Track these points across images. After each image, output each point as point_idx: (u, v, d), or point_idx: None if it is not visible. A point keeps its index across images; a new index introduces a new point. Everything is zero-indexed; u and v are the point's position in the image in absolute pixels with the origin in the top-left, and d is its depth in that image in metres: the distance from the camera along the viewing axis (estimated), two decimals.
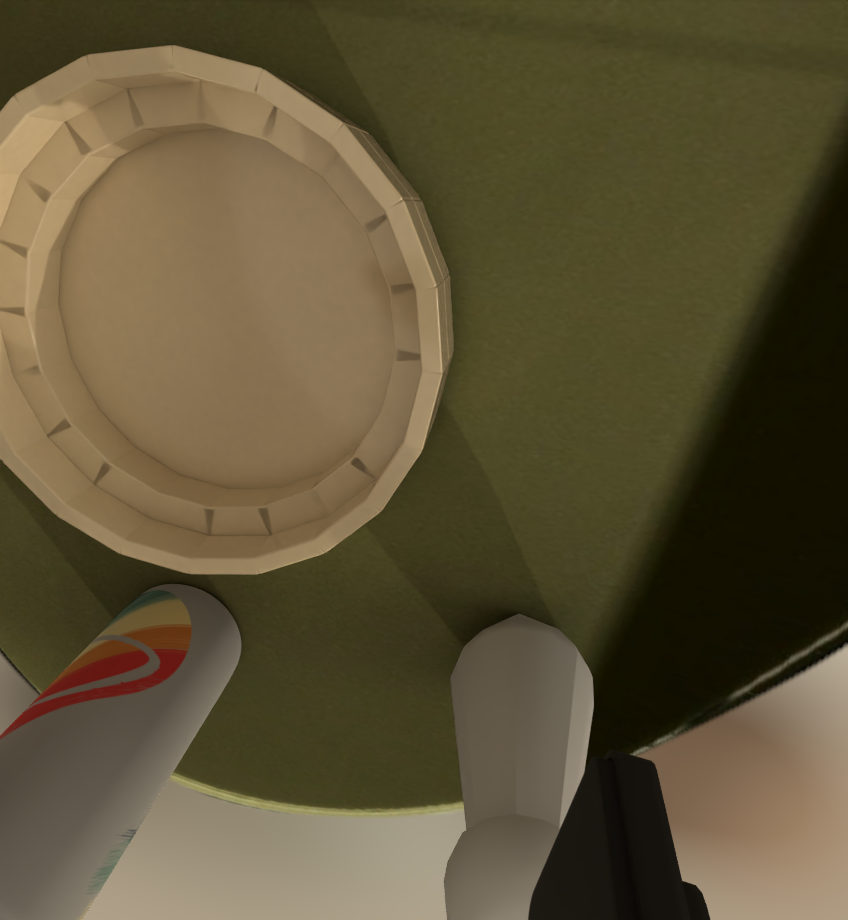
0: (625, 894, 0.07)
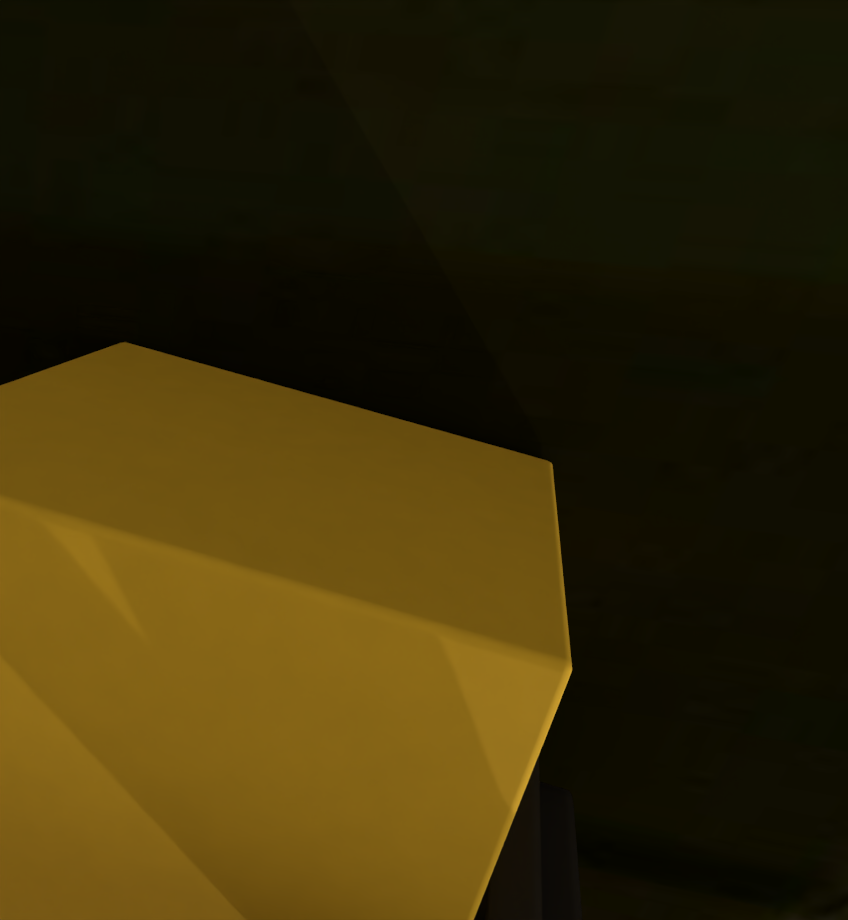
0: None
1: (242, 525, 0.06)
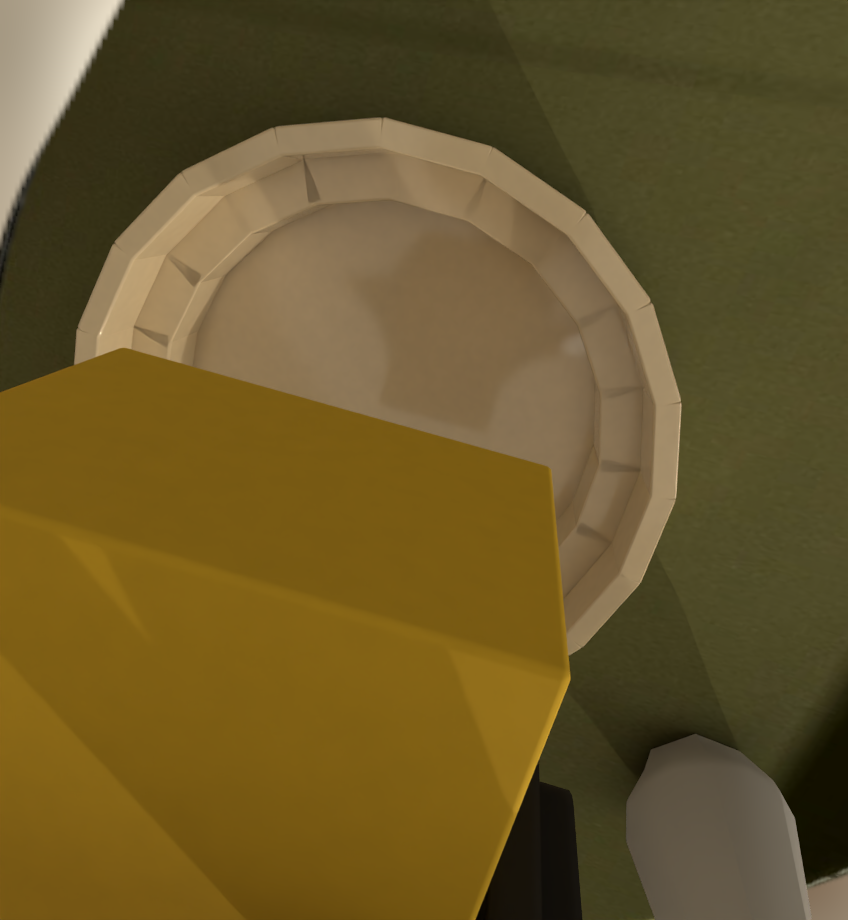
0: None
1: (241, 534, 0.06)
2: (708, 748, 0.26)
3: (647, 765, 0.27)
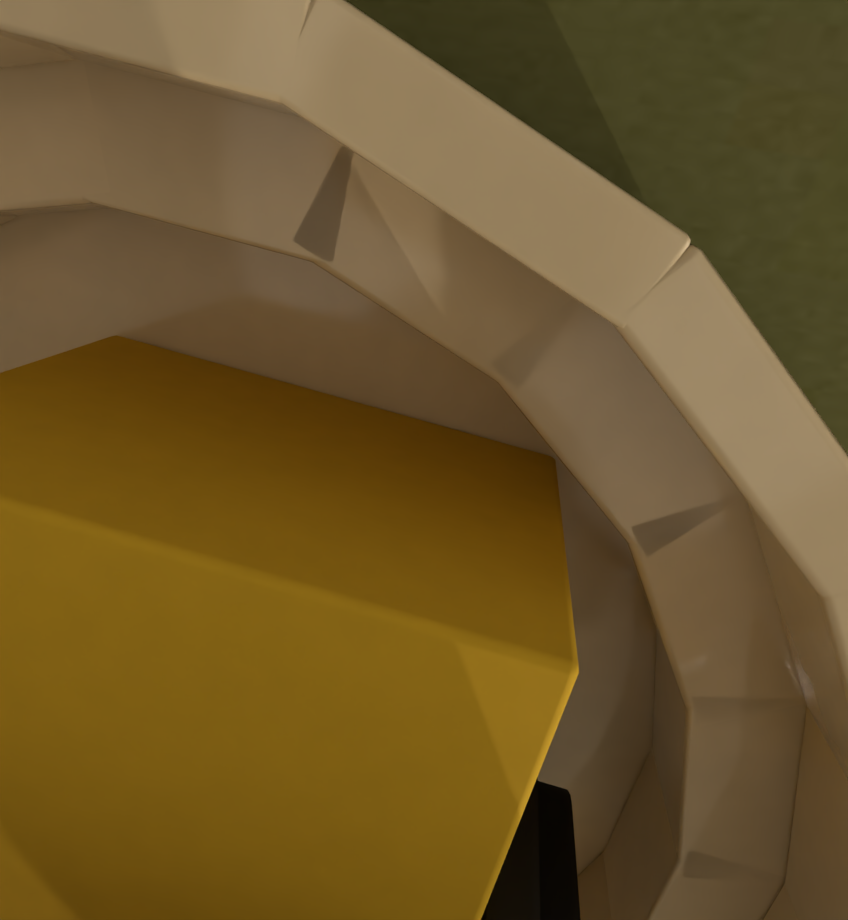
0: None
1: (234, 520, 0.06)
2: None
3: None
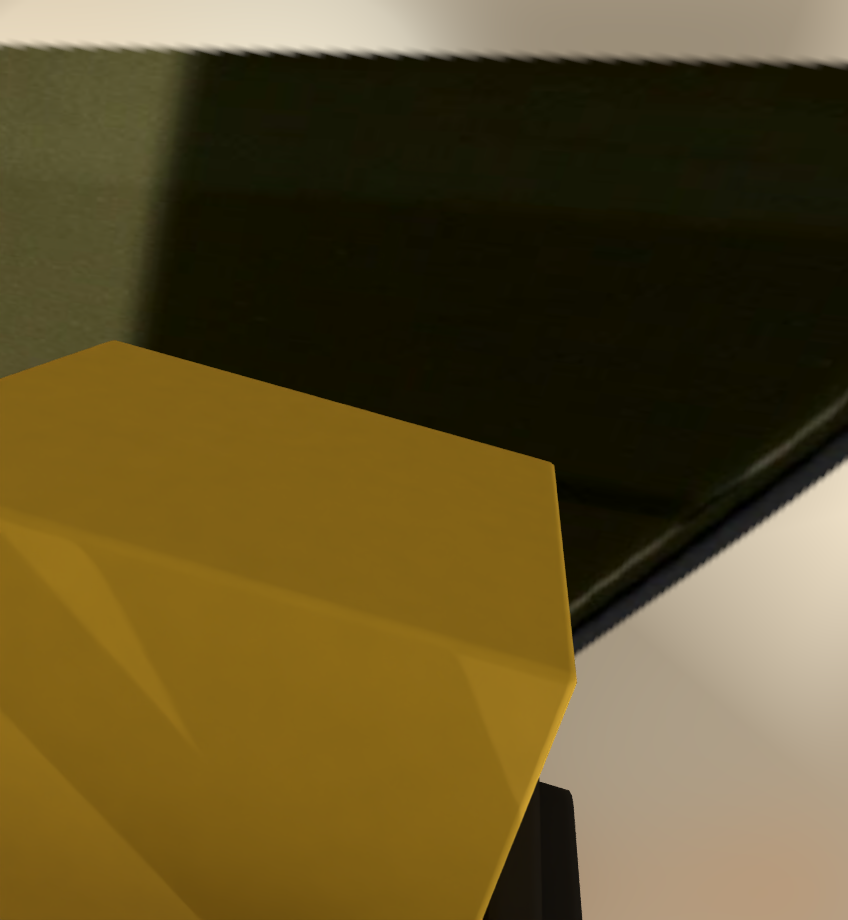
0: None
1: (231, 529, 0.06)
2: None
3: None
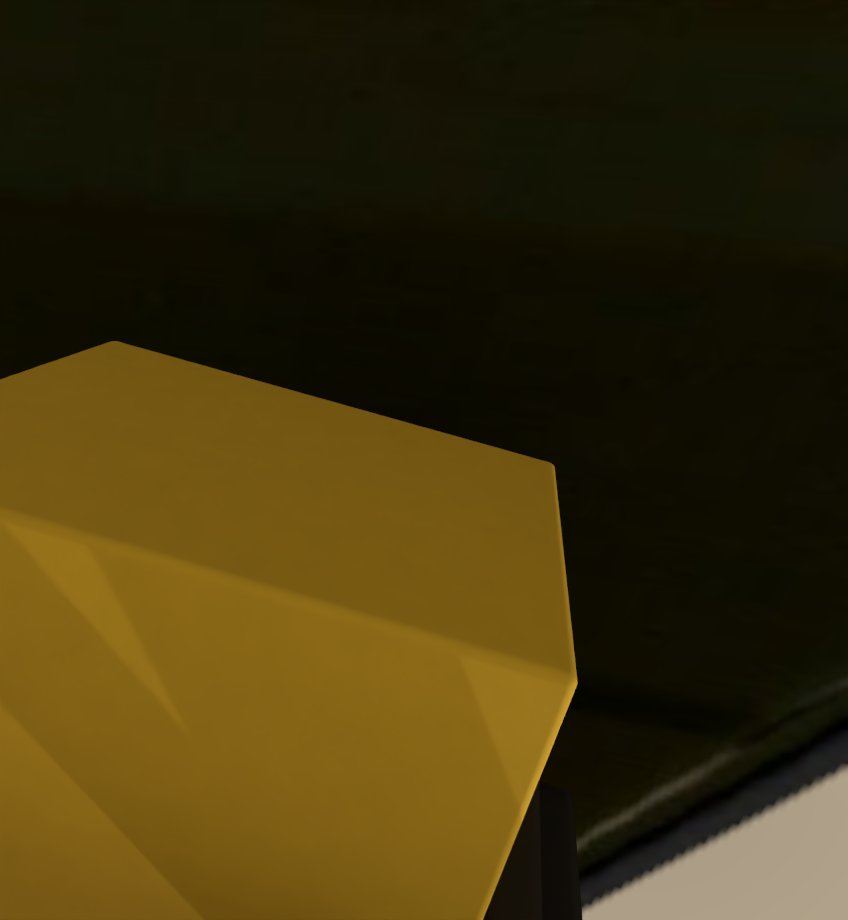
0: None
1: (232, 530, 0.06)
2: None
3: None
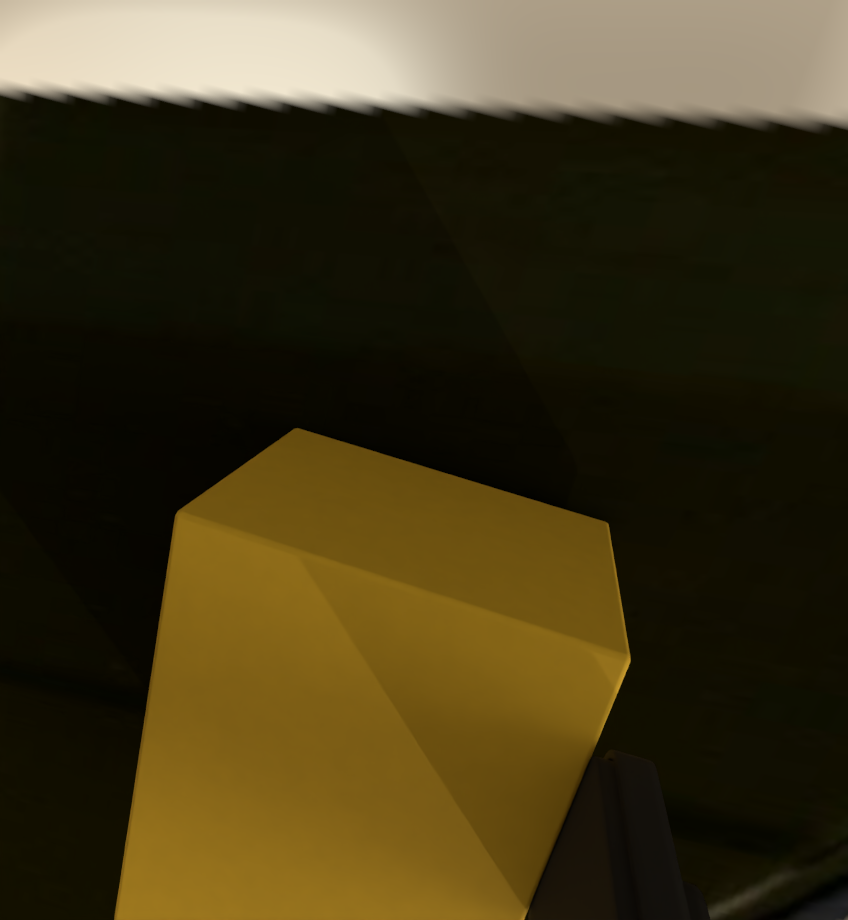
0: (625, 894, 0.07)
1: (420, 564, 0.10)
2: None
3: None
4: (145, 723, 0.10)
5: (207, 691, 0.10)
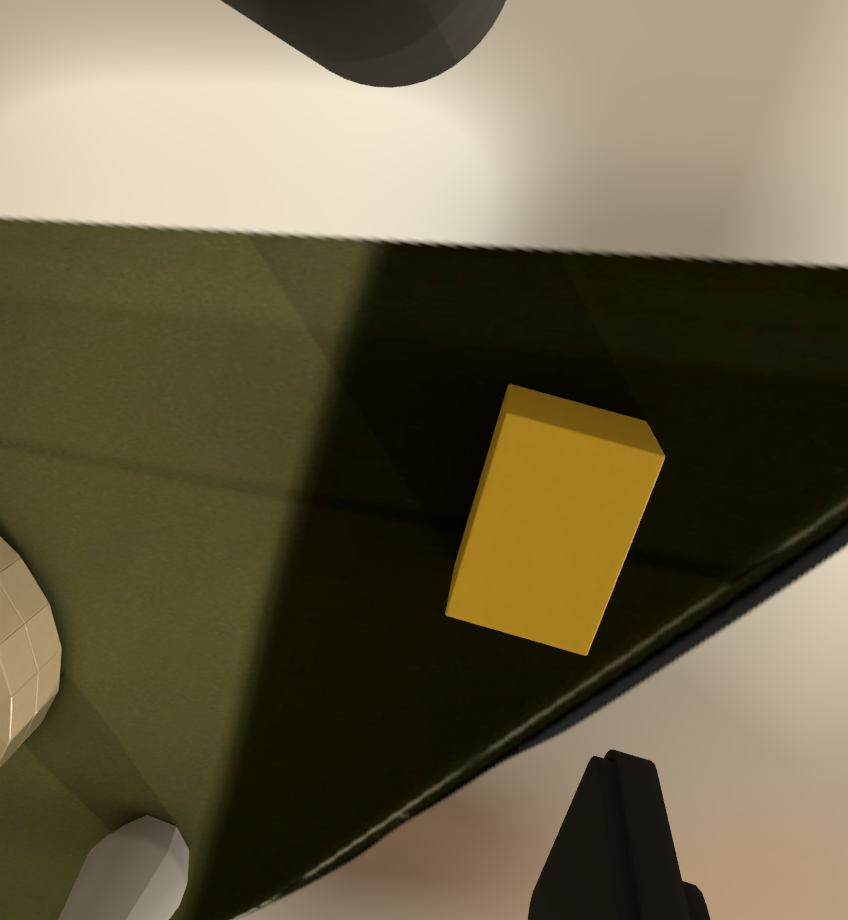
0: (625, 894, 0.07)
1: (589, 430, 0.27)
2: (138, 826, 0.41)
3: None
4: (482, 494, 0.28)
5: (509, 480, 0.27)
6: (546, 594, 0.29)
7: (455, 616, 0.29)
